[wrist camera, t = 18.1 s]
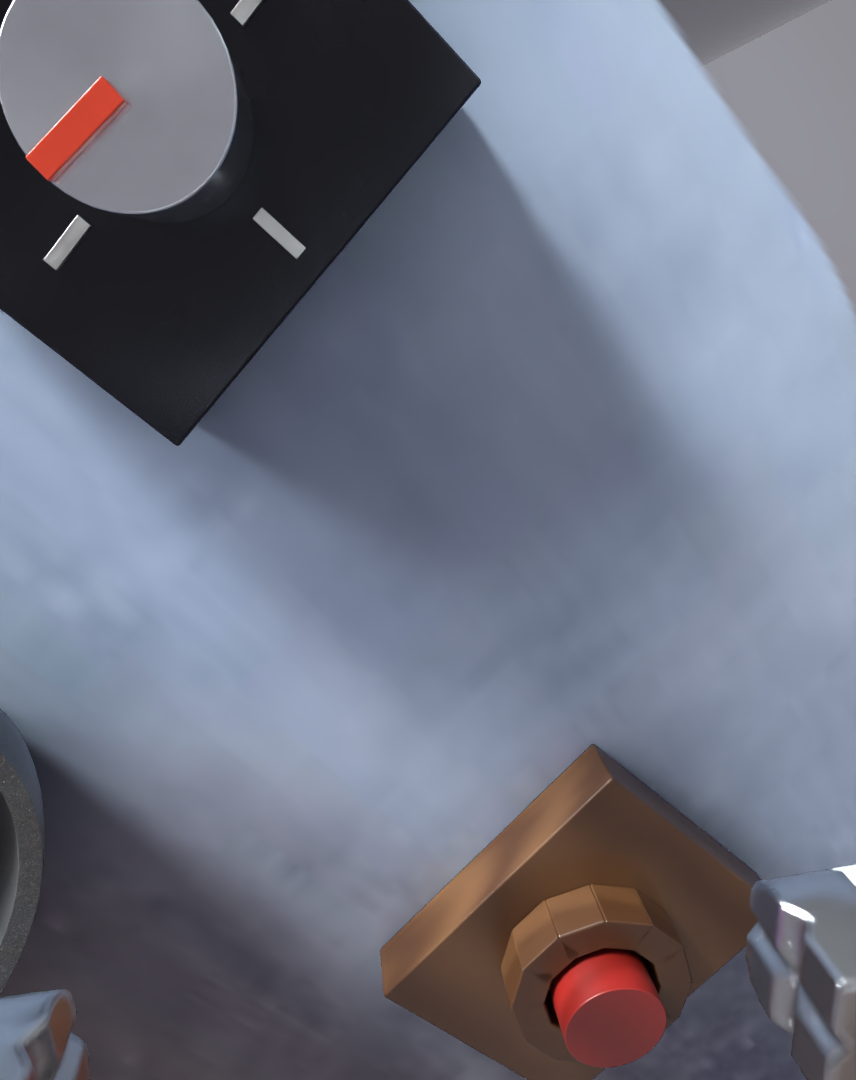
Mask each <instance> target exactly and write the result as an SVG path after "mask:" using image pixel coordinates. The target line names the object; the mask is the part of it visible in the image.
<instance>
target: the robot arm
mask: <svg viewBox="0 0 856 1080" xmlns="http://www.w3.org/2000/svg"><path fill="white" fill-rule="evenodd" d="M749 907H750V909H751V910H752V912H753V914H754V915H755V917H756V918H757V920H758V922H757V923H756V925H755V926H754V927H753V928H752V930H751V931H750V932H749V933H748V935H747V941H746V961H747V965H748V970H749V974H750V979H751V983H752V985H753V987H754V990H755V992H756V995H757V997H758V999H759V1002H760V1003H761V1005H762V1007H763V1008H764V1010H765V1012H766V1014H767V1015H768V1017H769V1019H770V1020H771V1021H772V1022H774V1023H775V1024H777V1025H779V1026H780V1027H782V1028H783V1029H785V1030H786V1031H788V1032H789V1033H791V1034H792V1035H793V1042H792V1052H791V1056H792V1057H793V1059H794V1060H795V1062H796V1064H797V1065H798V1067H799V1069H800V1070H801V1072H802V1074H803V1075H804V1077H805V1079H806V1080H856V865H850V866H844V867H838V868H834V869H832V870H830V869H826V870H820V871H814V872H808V873H802V874H796V875H790V876H784V877H778V878H772V879H766V880H760V881H756V882H755V884H754V885H753V887H752V889H751V893H750V903H749ZM76 1014H77V1011H76V1008H75V1005H74V1002H73V999H72V996H71V993H70V991H69V990H64V989H57V990H49V991H41V992H34V993H26V994H18V995H10V996H2V997H0V1080H91V1071H90V1059H89V1055H88V1051H87V1047H86V1043H85V1042H84V1041H83V1040H81V1039H80V1038H79V1037H77V1036H76V1035H74V1034H73V1033H71V1030H72V1027H73V1023H74V1020H75V1017H76Z"/></svg>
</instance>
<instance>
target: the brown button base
mask: <svg viewBox="0 0 856 1080" xmlns="http://www.w3.org/2000/svg"><path fill="white" fill-rule="evenodd" d="M760 880H761V879H760V877H759V876H758V875H757V873H756V872H755V871H753V870H752V869H751V868H750V867H748V866H747V865H746V864H745V863H743V862H742V861H741V860H739V859H738V858H737V857H736V856H734V855H733V854H732V853H731V852H729V851H728V850H727V849H726V848H724V847H723V846H722V845H721V844H719V843H718V842H717V841H716V840H714V839H713V838H712V837H710V836H709V835H708V834H707V833H705V832H704V831H703V830H702V829H700V828H699V827H698V826H697V825H695V824H694V823H693V822H692V821H690V820H689V819H688V818H687V817H685V816H684V815H683V814H682V813H680V812H679V811H678V810H676V809H675V808H674V807H673V806H671V805H670V804H669V803H668V802H666V801H665V800H664V799H663V798H661V797H660V796H659V795H658V794H656V793H655V792H654V791H653V790H651V789H650V788H649V787H647V786H646V785H645V784H644V783H642V782H641V781H640V780H639V779H637V778H636V777H635V776H634V775H632V774H631V773H630V772H629V771H627V770H626V769H625V768H624V767H622V766H621V765H620V764H618V763H617V762H616V761H615V760H613V759H612V758H611V757H610V756H608V755H607V754H606V753H605V752H603V751H602V750H601V749H600V748H598V747H597V746H596V745H594V744H592V745H591V746H590V747H589V748H588V749H587V750H586V751H585V752H584V753H583V754H582V755H581V756H580V757H579V758H578V759H577V760H576V761H574V762H573V763H572V764H571V765H570V766H569V767H568V768H567V769H566V770H565V771H564V772H563V773H562V774H561V775H560V776H559V777H558V778H557V779H556V780H555V781H554V782H553V783H552V784H551V785H550V786H549V787H548V788H547V789H546V790H545V791H544V792H542V793H541V794H540V795H539V796H538V797H537V798H536V799H535V800H534V801H533V802H532V803H531V804H530V805H529V806H528V807H527V808H526V809H525V810H524V811H523V812H522V813H521V814H520V815H519V816H518V817H517V818H516V819H515V820H514V821H513V822H511V823H510V824H509V825H508V826H507V827H506V828H505V829H504V830H503V831H502V832H501V833H500V834H499V835H498V836H497V837H496V838H495V839H494V840H493V841H492V842H491V843H490V844H489V845H488V846H487V847H486V848H485V849H484V850H483V851H482V852H480V853H479V854H478V855H477V856H476V857H475V858H474V859H473V860H472V861H471V862H470V863H469V864H468V865H467V866H466V867H465V868H464V869H463V870H462V871H461V872H460V873H459V874H458V875H457V876H456V877H455V878H454V879H453V880H452V881H451V882H449V883H448V884H447V885H446V886H445V887H444V888H443V889H442V890H441V891H440V892H439V893H438V894H437V895H436V896H435V897H434V898H433V899H432V900H431V901H430V902H429V903H428V904H427V905H426V906H425V907H424V908H423V909H422V910H421V911H420V912H419V913H417V914H416V915H415V916H414V917H413V918H412V919H411V920H410V921H409V922H408V923H407V924H406V925H405V926H404V927H403V928H402V929H401V930H400V931H399V932H398V933H397V934H396V935H395V936H394V937H393V938H392V939H391V940H390V941H389V942H388V943H386V944H385V945H384V946H383V947H382V948H381V950H380V954H381V966H382V978H383V991H384V996H385V997H386V998H388V999H390V1000H391V1001H393V1002H395V1003H397V1004H398V1005H400V1006H402V1007H403V1008H405V1009H407V1010H409V1011H410V1012H412V1013H414V1014H415V1015H417V1016H419V1017H421V1018H422V1019H424V1020H426V1021H428V1022H429V1023H431V1024H433V1025H434V1026H436V1027H438V1028H440V1029H441V1030H443V1031H445V1032H447V1033H448V1034H450V1035H452V1036H453V1037H455V1038H457V1039H459V1040H460V1041H462V1042H464V1043H465V1044H467V1045H469V1046H471V1047H472V1048H474V1049H476V1050H478V1051H479V1052H481V1053H483V1054H484V1055H486V1056H488V1057H490V1058H491V1059H493V1060H495V1061H496V1062H498V1063H500V1064H502V1065H503V1066H505V1067H507V1068H509V1069H510V1070H512V1071H514V1072H515V1073H517V1074H519V1075H521V1076H522V1077H524V1078H526V1079H527V1080H592V1079H594V1078H595V1077H596V1076H597V1075H598V1074H599V1073H601V1072H602V1071H603V1070H604V1069H605V1068H600V1067H593V1066H589V1065H586V1064H584V1063H582V1062H580V1061H578V1060H577V1059H575V1058H574V1057H573V1056H572V1055H571V1054H570V1052H569V1051H568V1049H567V1047H566V1044H565V1041H564V1038H563V1035H562V1031H561V1028H560V1025H559V1022H558V1018H557V1015H556V1012H555V1009H554V1005H553V1002H552V996H551V993H552V986H553V983H554V980H555V978H556V976H557V975H558V974H559V973H560V972H561V971H562V970H563V969H564V968H565V967H566V966H568V965H569V964H570V963H571V962H572V961H573V960H574V959H575V958H577V957H580V956H583V955H586V954H589V953H591V952H594V951H597V950H600V949H603V948H610V949H622V950H627V951H630V952H632V953H633V954H635V955H636V956H638V957H639V958H640V959H641V960H642V961H643V963H644V964H645V966H646V968H647V970H648V972H649V975H650V977H651V979H652V981H653V983H654V986H655V988H656V990H657V992H658V994H659V997H660V999H661V1001H662V1003H663V1005H664V1008H665V1010H666V1015H667V1022H666V1028H667V1027H668V1026H670V1025H671V1024H672V1023H673V1022H674V1021H675V1020H677V1018H678V1017H679V1016H680V1013H681V1011H682V1008H683V1006H684V1003H685V1001H686V998H687V997H688V996H689V995H690V994H691V993H692V992H694V991H695V990H696V989H697V988H698V987H699V986H700V985H702V984H703V983H704V982H705V981H706V980H707V979H709V978H710V977H711V976H712V975H713V974H714V973H715V972H717V971H718V970H719V969H720V968H721V967H722V966H723V965H725V964H726V963H727V962H728V961H729V960H730V959H732V958H733V957H734V956H735V955H736V954H737V953H738V952H740V951H741V950H742V949H743V948H744V947H745V946H746V941H747V935H748V933H749V932H750V931H751V930H752V928H753V927H754V926H755V925H756V923H757V922H758V920H757V918H756V917H755V915H754V914H753V912H752V910H751V909H750V907H749V903H750V893H751V889H752V887H753V885H754V884H755V882H756V881H760ZM666 1028H665V1029H666Z"/></svg>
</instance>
